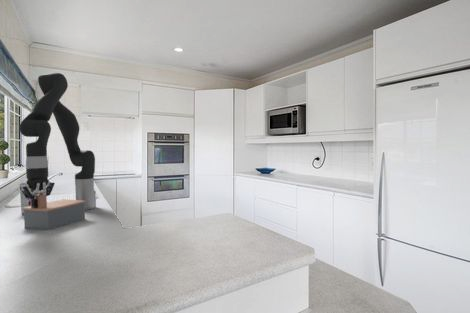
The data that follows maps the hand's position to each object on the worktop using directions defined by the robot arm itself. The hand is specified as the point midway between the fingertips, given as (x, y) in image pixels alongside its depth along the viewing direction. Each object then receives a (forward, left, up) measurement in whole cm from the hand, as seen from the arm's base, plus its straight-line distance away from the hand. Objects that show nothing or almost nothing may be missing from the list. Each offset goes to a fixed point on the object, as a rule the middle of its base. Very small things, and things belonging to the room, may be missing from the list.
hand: (38, 207), depth 112 cm
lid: (-8, 0, -3) cm, 8 cm away
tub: (-8, 0, -9) cm, 12 cm away
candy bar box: (-23, -36, -9) cm, 44 cm away
